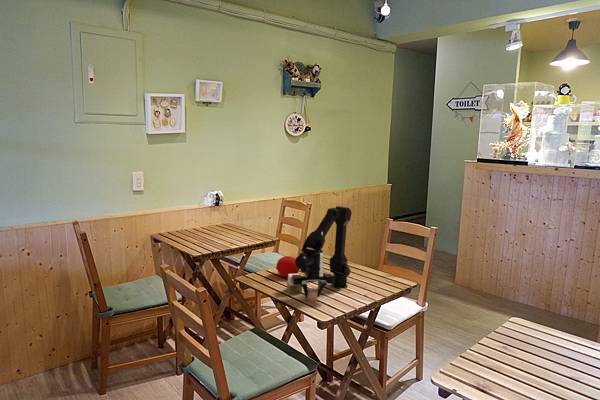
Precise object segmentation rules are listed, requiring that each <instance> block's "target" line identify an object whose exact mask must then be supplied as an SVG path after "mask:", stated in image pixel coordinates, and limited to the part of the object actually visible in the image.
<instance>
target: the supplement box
mask: <svg viewBox="0 0 600 400" xmlns="http://www.w3.org/2000/svg"><path fill="white" fill-rule="evenodd" d="M323 270H324V253H320V274H319V276H323V274H324V273H323ZM304 277H307V276H305V275H304Z"/></svg>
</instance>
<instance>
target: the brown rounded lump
mask: <svg viewBox="0 0 600 400" xmlns="http://www.w3.org/2000/svg"><path fill="white" fill-rule="evenodd" d="M318 298H319V297H318V288H314V287H310V288H308V287H307V298H306V297H305V299H306V301H307V302H312V303H315V302H317V301H318Z"/></svg>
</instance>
